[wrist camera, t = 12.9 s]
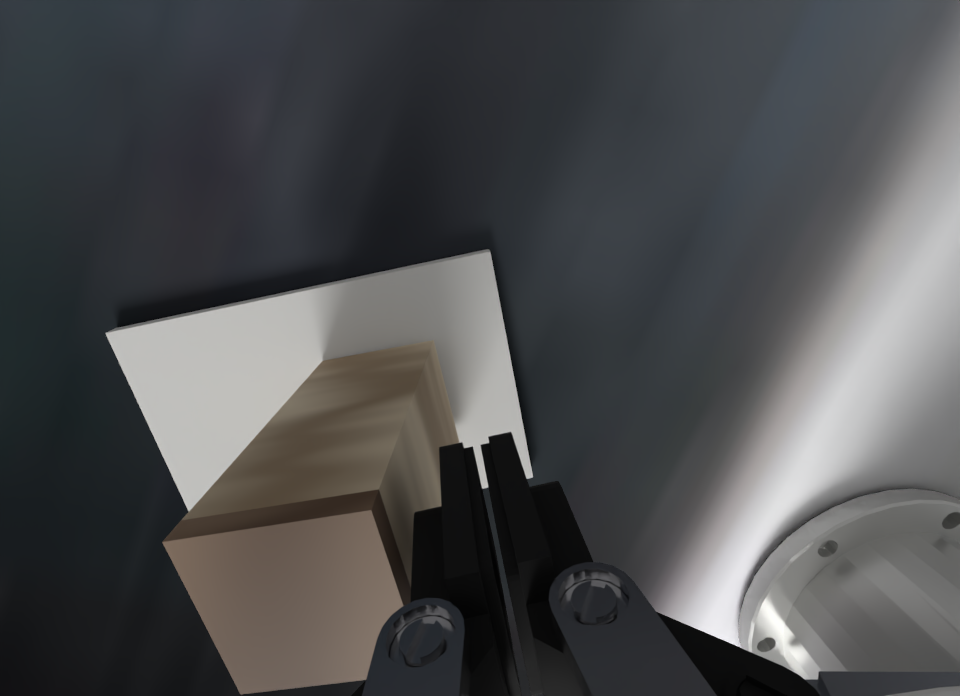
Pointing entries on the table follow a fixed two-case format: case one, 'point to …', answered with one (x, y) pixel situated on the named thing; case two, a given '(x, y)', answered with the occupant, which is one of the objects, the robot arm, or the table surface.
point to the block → (319, 521)
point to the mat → (317, 359)
